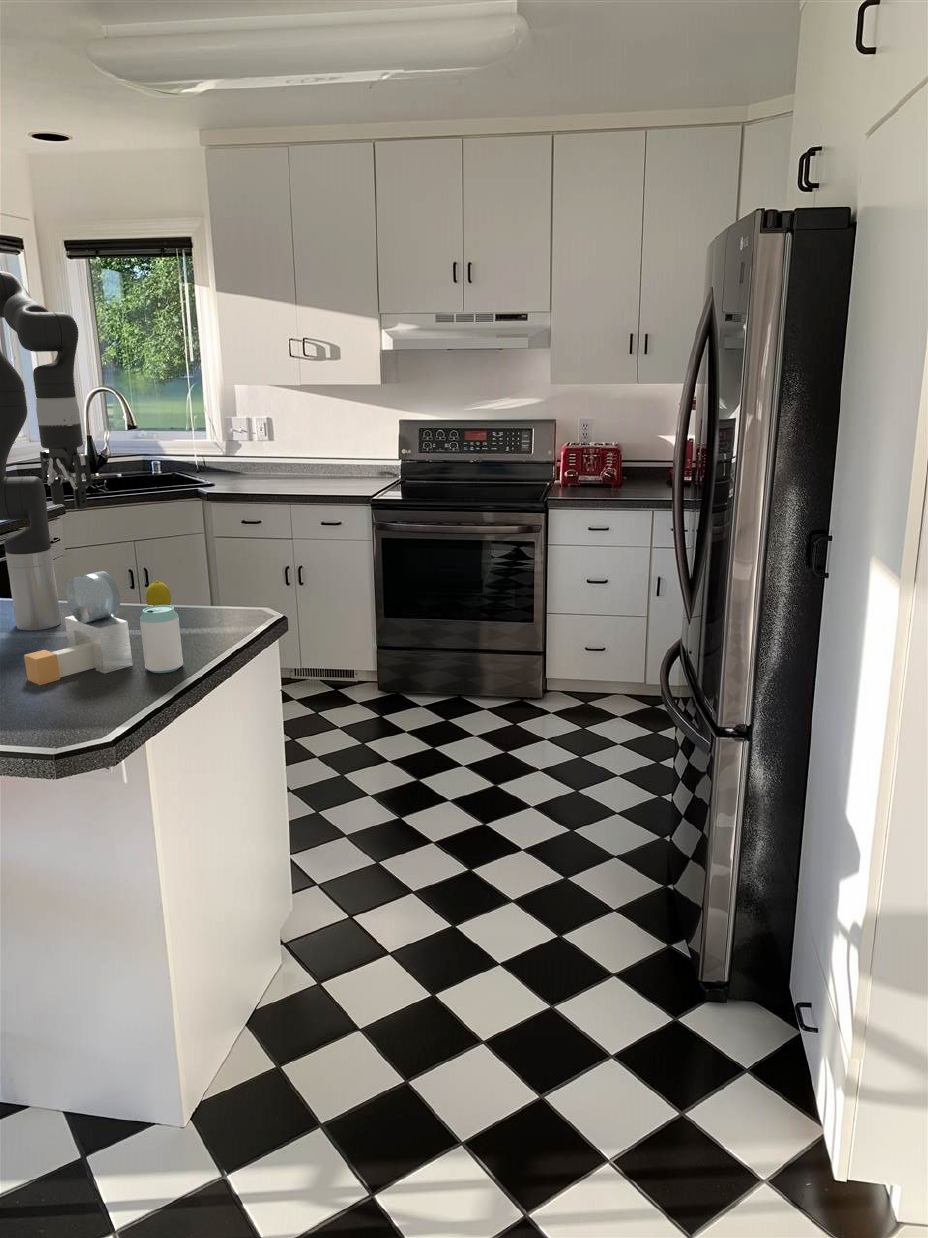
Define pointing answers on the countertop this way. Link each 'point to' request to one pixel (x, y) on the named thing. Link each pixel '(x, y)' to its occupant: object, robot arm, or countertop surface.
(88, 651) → the plug
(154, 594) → the lemon
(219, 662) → the countertop surface
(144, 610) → the can
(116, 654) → the cylinder
